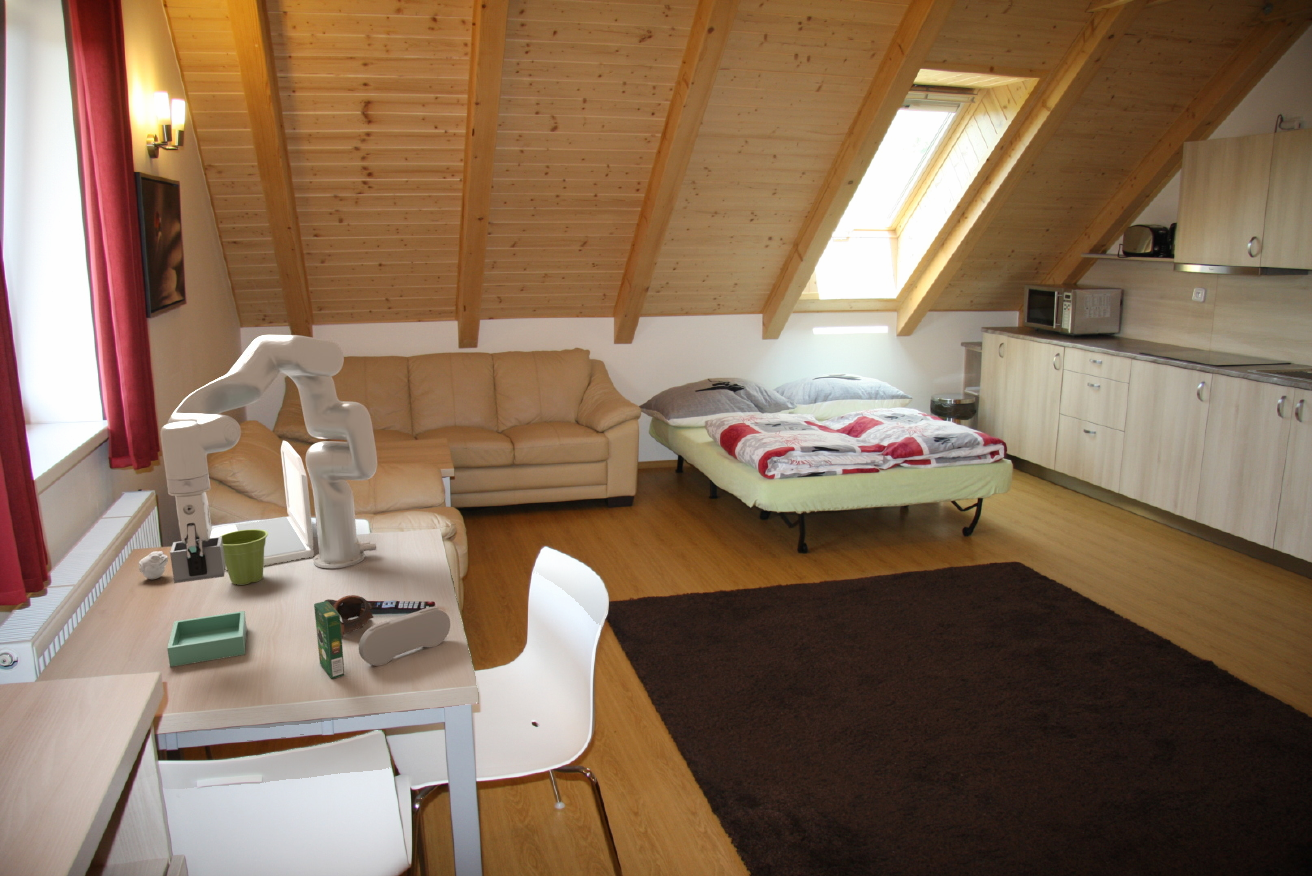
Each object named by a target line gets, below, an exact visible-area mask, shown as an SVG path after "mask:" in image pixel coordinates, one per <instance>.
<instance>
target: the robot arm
mask: <svg viewBox="0 0 1312 876" xmlns="http://www.w3.org/2000/svg"><path fill="white" fill-rule="evenodd" d="M344 357H345V356H344V352H343V350H342V348H341V347H340V345H339V344H338V343H337V342H335V341H333V340H330V339H323V338H317V337H311V336H305V335H298V334H263V335H260V336H257V337H256V338H255V339H253V341H252V342H250V344H249V345H248V347H247V348H246V349H245V350H244V351H243V352H242V354H241V355H240V357H239V358H238V359H237V361H236V362H235V363H234V364H233V365H232V366H231V368H230V369H229V371H228V372H227V373H226V374H224V375H223V376H221V377H218V378H217V379H215V380H213V381H210V382H209V383H207V384H205V385H204V386H202V387H200V388H198V389H196V390H195V391H193V392H191V393H190V394H189V395H188V396H186V397H185V398H183V400H182V401H181V403H180V404H179V405H178V406H177V408H176V409H175V410H174V411H173V412H172V414H171V415H170V417H169V418H168V421H167V423H166V424H164V425H163V426H162V427H161V429H160V441H161V449H162V456H163V457H162V458H163V463H164V471H165V478H166V486H167V493H168V495H169V496H172V497H175V505H176V513H177V519H178V527H179V533H180V539H181V541H182V542H183V543H184V544H186V545H187V556H188V557H187V562H188V570H189V576H199V575H206V574H207V567H206V559H205V555H203V545H202V541H204V540H205V541H206V542H207V541H208V540H209V539H210V536H211V531H212V530H213V528H212V527H213V526H212V520H211V515H210V514H211V513H210V507H209V502H208V496H207V492H208V491H210V490H211V483H210V482H211V481H210V474H209V466H208V459H207V455H208V454H212V453H220V452H225V451H229V450H231V449H233V448H234V447H235V446H236V445H237V444H238V442H239V441H240V438H241V435H242V429H241V426H240V424H239V422H238V421H237V420H236V419H235V418H233V417H231V416H230V415H225V414H222V413H224V412H227V411H231V410H236V409H238V408H239V409H240V408H244V407H246V406H249V405H252V404H254V403H257V402H258V401H260V400H261V399H262V398H263V396H264V395H265V393H266V392H267V391H268V389H269V388H270V387H271V385H273V383H274V381H275V380H276V378H278V376H279V375H280V374H284V375H286V376H287V377H289V378H290V379H291V380H292V381H293V383H294V384H295V385H296V388H297V389H298V394H299V399H300V406H301V409H302V414H303V419H304V424H305V429H306V431H307V433H308V435H310V436H311V437H313V438H316V439H322V440H323V441H318V442H316V443H313V444H312V445H311V446H310V447H309V448H307V451H306V453H305V467H306V470H307V474H308V476H309V479H310V483H311V488H312V494H313V503H314V504H313V505H314V515H315V523H316V533H317V535H316V536H317V543H318V545H317V546H318V554H316V555H314V557H313V558H312V559H313V565H315V566H316V567H319V568H321V569H322V568H323V569H340V568H341V569H342V568H346V567H351V566H353V565H357V564H359V563H361V562H362V561H363V560H364V559H365V556H366V555H365V552H368V551H369V552H371V551H377V543H376V542H371V541H364V542H361V541H359V538H358V536H357V526H356V525H357V523H356V515H355V514H356V513H355V503H354V502H355V501H354V495H353V494H354V493H353V490H352V488H351V485H350V484H349V482H348V481H368V480H369V479H371V478H373V477H374V475H375V474H376V471H377V467H378V453H377V448H376V441H375V435H374V429H373V428H374V427H373V423H372V419H371V418H372V417H371V415H370V414H371V413H370V412H369V410H368V409H367V407H366V406H365V405H364V404H362V403H361V402H357V401H348V400H347V401H343V400H340V399H339V398H338V395H337V394H338V393H337V391H336V385H335V381H334V379H333V376H335V375H337V374H338V373H339V372H340V371H341V370H342V368H343V365H344V364H345V363H344V362H345V361H344V360H345V358H344ZM324 440H325V441H324ZM331 440H334V441H331ZM335 440H337V441H335ZM338 440H340V441H338ZM341 440H343V441H341ZM197 539H199V541H196V540H197ZM196 544H199V547H198V546H196Z"/></svg>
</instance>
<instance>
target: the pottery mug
mask: <svg viewBox="0 0 1312 876" xmlns="http://www.w3.org/2000/svg"><path fill="white" fill-rule="evenodd" d="M324 601H328V602H329V603H330V604H331V605H332V607H333V608H334V609H335V610H336V611H337V612H338V613H339V614H340V619H341V620H340V623H341V636H342V637H344V635H345V634H348V633H352V632H354V631H356V630H359V629H362V628H363V627H364V626H365V625H366V624H368V622H369V621H370V620H371V619H374V615H373V613H372V611H371V610H372V608H373V605H372V604H370V603H369V601H368V600H366V598H364V597H362V596H360V595H355V594H351V595H346V596H343V597H341V598H339V599H338V600H335V599H326V600H324ZM362 605H364V608H362Z"/></svg>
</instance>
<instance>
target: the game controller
mask: <svg viewBox="0 0 1312 876" xmlns="http://www.w3.org/2000/svg"><path fill="white" fill-rule="evenodd" d="M450 629H451V620H450V616H449V615H448V614H447V613H446V611H444V610H442V609H440V608H439V607H438V606H430V607H426V608H423V609H420V610H417V611H414V612H411V613H408V614H405V615H402V616H399V617H395V618H393V619H390V620H385V621H382V622H379V623H376V624H374V625H372V626H370V627H369V628H368V629H366V630H365V632H364V633H363V634H362V635H361V637H360V639H359V642H358V654H359V655H360V657H361V659H362V660H364V662H366V663H367V664H369V665H371V666H374V667H379V666H383V665H386V664H389V663H390V662H391V661H392V660H393V659H394V658H396V657H397V656H399V655H402V654H405V653H408V652H411V651H413V650H417V649H419V648H422V647H423V648H428V649H429V648H433V647H437V646H439V645H441V643H443V642H444V641H445V640H446V639H447V637H448V635H449V633H450Z"/></svg>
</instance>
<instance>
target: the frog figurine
mask: <svg viewBox="0 0 1312 876" xmlns="http://www.w3.org/2000/svg"><path fill="white" fill-rule="evenodd" d="M168 560H169V556H168V555H166V554H164V552H163V551H162V550H158V551H157V550H156V551H155V550H154V551H152V552H150V553H149V554H148V555H146V556H145V557H143V558H141V560H139V561H138V569H139V572H140V573H141V574H142V575H143V576H144V577H145V578H146V579H148V580H156V579H159V578H161V577H162V576H163V575H164V573H165V571H166V570H165V568H166V566H167V564H168Z"/></svg>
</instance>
